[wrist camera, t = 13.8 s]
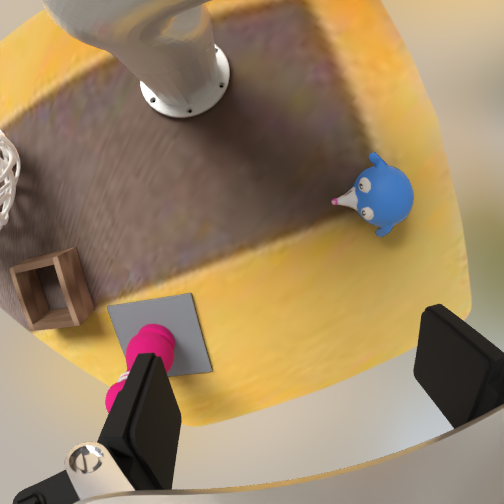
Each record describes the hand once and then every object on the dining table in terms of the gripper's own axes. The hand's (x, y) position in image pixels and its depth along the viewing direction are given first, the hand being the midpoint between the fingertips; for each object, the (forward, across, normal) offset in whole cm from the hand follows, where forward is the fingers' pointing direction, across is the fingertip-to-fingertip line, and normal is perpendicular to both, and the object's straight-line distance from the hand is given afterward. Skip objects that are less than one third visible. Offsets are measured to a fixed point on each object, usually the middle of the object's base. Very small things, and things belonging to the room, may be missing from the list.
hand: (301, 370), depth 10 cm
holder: (+35, +32, +6) cm, 48 cm away
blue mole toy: (+35, -17, -1) cm, 39 cm away
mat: (+35, +16, +18) cm, 42 cm away
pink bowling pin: (+34, +17, +17) cm, 42 cm away
